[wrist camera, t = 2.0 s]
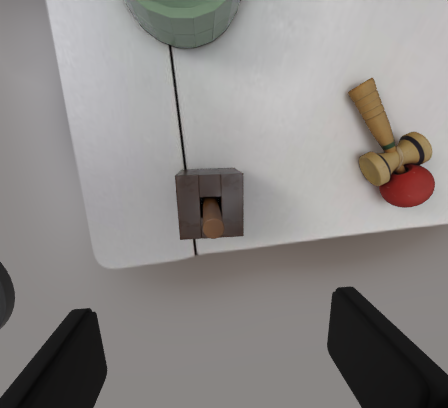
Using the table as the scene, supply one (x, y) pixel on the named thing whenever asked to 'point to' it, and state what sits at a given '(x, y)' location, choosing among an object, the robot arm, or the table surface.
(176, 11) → the mixing bowl
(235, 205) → the holder
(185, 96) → the table surface
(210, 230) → the stick
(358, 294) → the robot arm
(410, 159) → the kendama
